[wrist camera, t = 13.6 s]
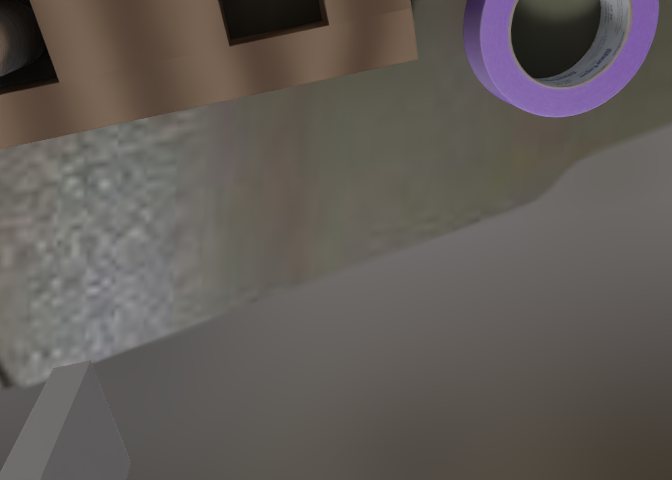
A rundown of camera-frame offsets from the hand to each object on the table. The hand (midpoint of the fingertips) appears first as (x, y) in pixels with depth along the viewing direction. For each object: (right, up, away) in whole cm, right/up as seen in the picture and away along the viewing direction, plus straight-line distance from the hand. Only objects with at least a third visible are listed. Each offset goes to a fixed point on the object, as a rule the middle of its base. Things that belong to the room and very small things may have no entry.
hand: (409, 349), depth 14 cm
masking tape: (+13, +17, +30) cm, 37 cm away
